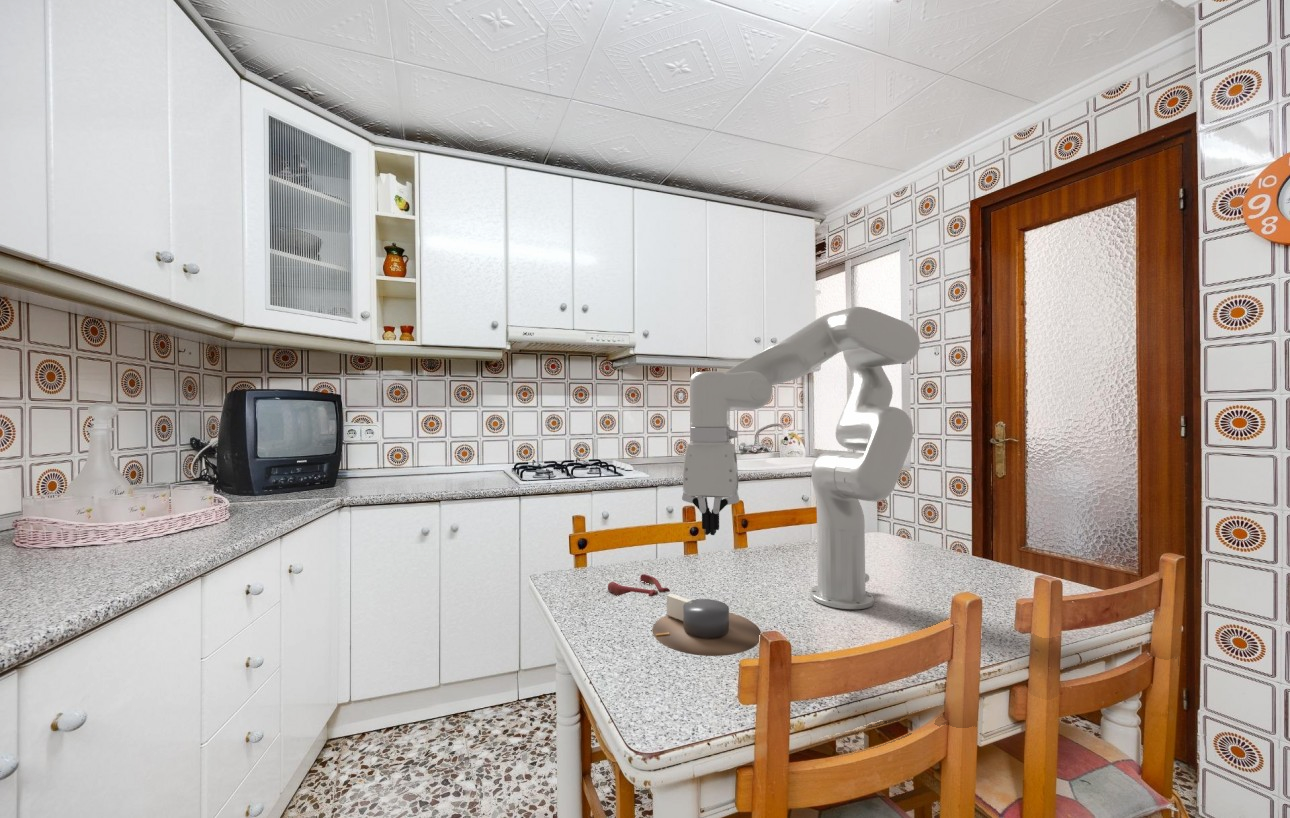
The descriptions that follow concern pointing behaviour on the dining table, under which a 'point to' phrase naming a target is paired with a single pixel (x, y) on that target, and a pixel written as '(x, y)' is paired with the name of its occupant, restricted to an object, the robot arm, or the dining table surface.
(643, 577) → the pliers
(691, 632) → the dial knob
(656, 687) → the dining table surface
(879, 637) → the dining table surface
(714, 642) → the dial plate
